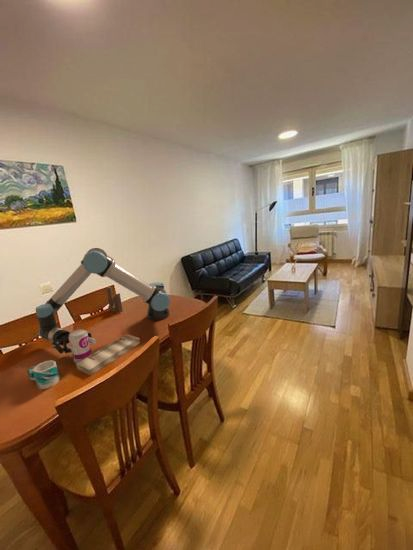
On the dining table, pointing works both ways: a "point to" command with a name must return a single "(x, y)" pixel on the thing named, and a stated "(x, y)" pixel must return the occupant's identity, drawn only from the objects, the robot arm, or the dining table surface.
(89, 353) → the supplement can
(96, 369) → the grey compartment tray
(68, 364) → the dining table surface
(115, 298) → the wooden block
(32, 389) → the dining table surface
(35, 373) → the mug
